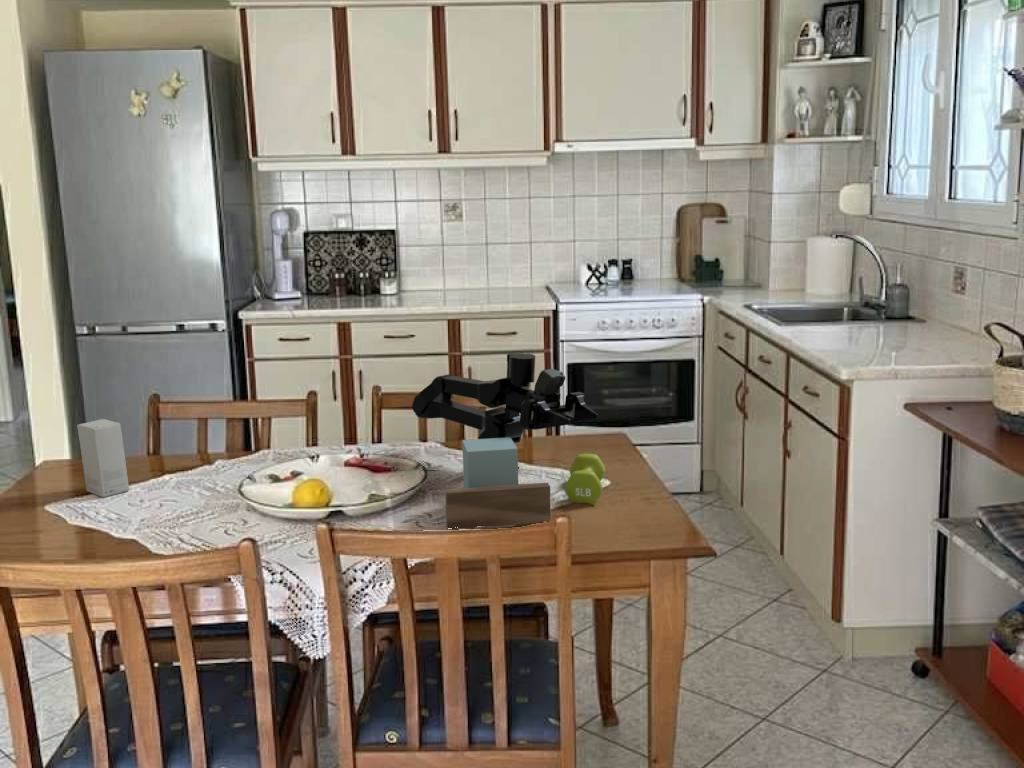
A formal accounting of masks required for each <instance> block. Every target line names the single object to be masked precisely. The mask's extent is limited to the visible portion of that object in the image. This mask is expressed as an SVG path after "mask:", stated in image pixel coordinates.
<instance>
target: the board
mask: <svg viewBox="0 0 1024 768" xmlns="http://www.w3.org/2000/svg"><path fill="white" fill-rule="evenodd" d="M550 485H551V484H550V483H549V482H539V483H538V482H537V483H524V484H523V483H522V484H518V485H505V486H490V487H475V488H464V487H463V488H450V489H445V518H446V519H445V520H446V528H447V527H448V528H452V529H451V530H458V529H457V527H458V528H465V529H475V527H477V526H486V527H485V528H488V527H487V526H492V527H503V526H505V527H506V526H516V525H517V526H519V525H532V524H531V523H533V524H538V523H537V522H544V521H550V520H551V517H552V516H551V486H550ZM455 527H456V528H455ZM448 528H447V529H448Z"/></svg>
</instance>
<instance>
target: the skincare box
mask: <svg viewBox="0 0 1024 768" xmlns="http://www.w3.org/2000/svg"><path fill="white" fill-rule="evenodd" d="M121 424H122V423H120V422H117V421H112V420H109V419H105V418H103V419H97V420H92V421H88V422H85V423H84V422H83V423H80V424H77V425H76V426H77V433H78V439H79V447H80V453H81V461H82V462H81V463H82V467H83V468H82V469H83V474H84V475H83V476H84V481H85V489H86V492H88V493H91V494H93V495H96V496H99V497H100V498H107V497H111V496H116V495H119V494H122V493H126V492H129V491H130V485H129V478H128V470H127V464H126V456H125V455H126V454H125V447H124V440H123V439H124V438H123V434H122V432H123V431H122V425H121Z"/></svg>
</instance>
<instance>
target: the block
mask: <svg viewBox="0 0 1024 768" xmlns="http://www.w3.org/2000/svg"><path fill="white" fill-rule="evenodd" d="M461 442H462V468H463V469H462V470H463V471H462V472H463V488H475V487H490V486H505V485H519V470H518V467H519V455H518V454H519V451H518V447H517V445H516V443H514V442H513V441H512V439H511V437H507V438H490V439H478V438H476V439H462V441H461Z"/></svg>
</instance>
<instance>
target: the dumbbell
mask: <svg viewBox="0 0 1024 768" xmlns="http://www.w3.org/2000/svg"><path fill="white" fill-rule="evenodd" d="M569 473H570V476H569V478H568V479H567V482H566V483H565V485H564V492H565V493H566V496H567V498H568V499H569V501H570V502H572V503H574V504H575V503H576V504H589V505H590V506H591V507H592V506H594V505H595V504H596V502H597V501H598V500H599V498H600V496H601V494H602V493H603V491H604V490H603V489H604V487H603V485H602V482H601V481H602V480H603V478H604V477H605V474H606V466H605V464H604V463H603V461H602V460H601V458H600V456H599V455H597V454H595V453H579V454H577V456H576V457H575V458H574V460H573V461H572V463H571V465H570V468H569Z"/></svg>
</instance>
